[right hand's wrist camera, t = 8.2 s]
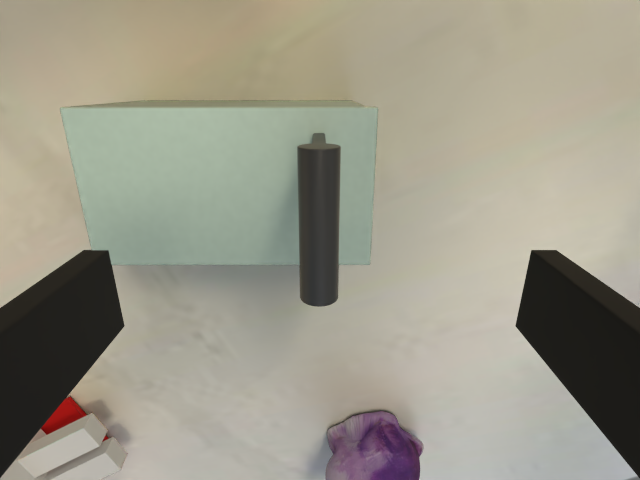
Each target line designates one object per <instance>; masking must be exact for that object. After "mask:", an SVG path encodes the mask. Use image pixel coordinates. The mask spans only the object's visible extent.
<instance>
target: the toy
mask: <svg viewBox="0 0 640 480" xmlns="http://www.w3.org/2000/svg"><path fill="white" fill-rule="evenodd" d="M107 431H108V430H107V429H106V428H105V427H104V425H103V424H102V423H101V422H100V421H99V420H98V418H97V417H96V416H95V415H94V414H93V413H91V414H89V415H87V414H86V413H85V412H84V411H83V410H82V409H81V408H80V407H79V406H78V405H77V404H76V403H75V401H74V400H73V399H72V398H71V397H68V398H66V399H64V401H63V402H62V403H61V404H60V406H59V407H58V408H57V409H56V410H55V412H54V413H53V414H52V415H51V417H50V418H49V419H48V420H47V422H46V423H45V424H44V425H43V426H42V428H41V429H40V430H39V431H38V433H37V434H36V435H35V436H34V437H33V439H32V440H31V441H30V442H29V444H28V445H27V446H26V447H25V448H24V450H23V451H22V452H21V453H20V455H19V456H18V457H17V458H16V459H15V461H14V462H13V463H12V464H11V466H10V467H9V468H8V469H7V471H6V472H5V473H4V474H3V475H2V477H1V478H0V480H101V479H103V478H105V477H107V476H109V475H111V474H113V473H115V472H118V471H120V470H121V468H122V466H123V463H124V461H125V459H126V456H127V454H128V453H127V452H126V451H125V450H124V448H123V447H122V446H121V445H120V444H119V443H118V442H117V440H116V439H115V438H114V437H111V438H108V437H107V436H106V433H107Z"/></svg>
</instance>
